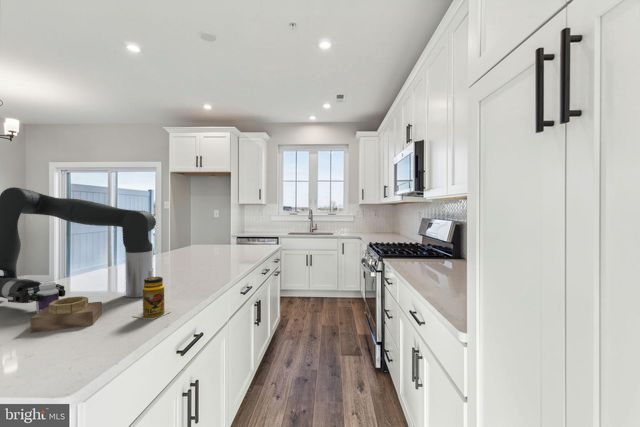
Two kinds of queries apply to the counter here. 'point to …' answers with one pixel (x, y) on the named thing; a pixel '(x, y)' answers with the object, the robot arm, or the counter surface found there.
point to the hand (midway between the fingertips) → (52, 295)
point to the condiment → (153, 299)
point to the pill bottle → (47, 295)
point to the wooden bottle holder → (66, 314)
